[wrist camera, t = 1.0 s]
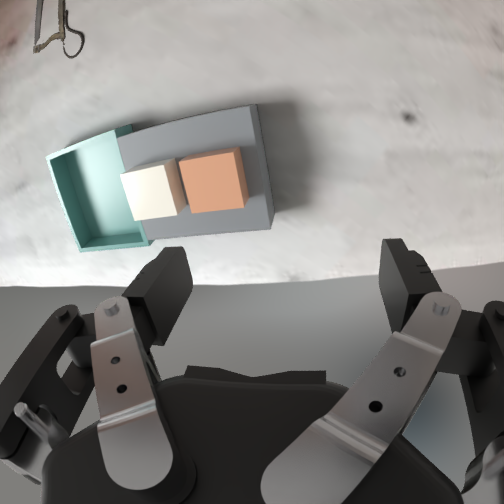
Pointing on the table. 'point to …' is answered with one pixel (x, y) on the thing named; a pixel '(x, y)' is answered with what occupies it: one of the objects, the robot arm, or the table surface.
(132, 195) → the cream tile
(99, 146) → the box
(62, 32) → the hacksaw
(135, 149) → the grey flat block
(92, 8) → the table surface
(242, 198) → the terracotta tile
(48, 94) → the table surface
